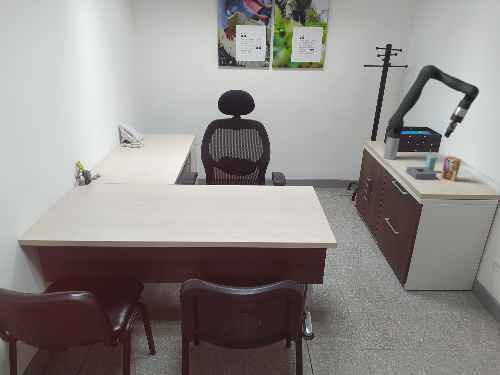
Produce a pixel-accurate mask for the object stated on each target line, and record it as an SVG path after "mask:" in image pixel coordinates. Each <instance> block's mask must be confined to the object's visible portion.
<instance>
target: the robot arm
mask: <svg viewBox="0 0 500 375" xmlns="http://www.w3.org/2000/svg"><path fill="white" fill-rule="evenodd" d="M430 79H432V80H436V81H439V82H440V83H442V84H443V85H445V86H446V87H448V88H450V89H452V90H454V91H457V92H459V93H462V94H464V96H463V98H462V99H461V100H460V101H459V103H458V104H457V106H456V107H455V109H454V111H453V112H452V114H451V116H450V118H449V120H450V122H449V124H448V127H446V130H445V133H444V134H443V136H444V137H445V138H447V139H449V138H450V137H451V135H452V133H454V131H455V130H456V127H457V126H458V124H462V122H463V121H464V118H465V117H466V115H467V113H468V110H470V108H471V106H472V104H473V103H474V102H475V100H476V98H477V97H478V95H479V93H480V89H479V88H478V87H477V86H476V85H475V84H474V85H473V84H471V83H469V82H466V81H464V80H462V79H459V78H457V77H455V76H453V75H450V74H448V73H446V72H444V71H442V70H441V69H439V68H438V67H437V66H435V65H433V64H428V65H425V66H423V67H422V68H421V69H420V71H419V73H418V75H417V77H416V79H415V81H414V82H413V84H412V85H411V86H410V88H409V90H408V91H407V93H406V95H405V96H404V97H403V100H402V101H401V102H400V104H399V106H398V107H397V109H396V111H395V112H394V113H393V114H392V115H391V117H390V118H389V120H388V125H387V126H388V128H389V129H390V130H389V131H388V133H387V137H386V143H385V148H384V153H383V158H384V159H385V160H392V161H393V160H396V159H397V154H398V149H399V145H400V140H401V139H400V138H401V135H402V133H403V130H404V129H403V128H404V125H405V124H404V123H405V121H404V118H405V116H406V115H407V114H408V113H409V112H410V111H411V110H412V109H413V108H414V106H415V105H416V104H417V103H418V101H419V99H420V98H421V96H422V92H423V89H424V88H425V86H426V84H427V83H428V81H429V80H430Z"/></svg>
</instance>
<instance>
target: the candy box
mask: <svg viewBox="0 0 500 375" xmlns="http://www.w3.org/2000/svg"><path fill="white" fill-rule="evenodd" d="M461 163H462V159H461V158H458V157H455V156H454V157H453V156H449V155H447V156H445V159H444V163H443V166H442V167H443V168H442V171H441V174H440V179H445V180H447V181H451V182H455V181H456V180H457V178H458V173H459V170H460V166H461Z"/></svg>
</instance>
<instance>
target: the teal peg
mask: <svg viewBox="0 0 500 375" xmlns="http://www.w3.org/2000/svg"><path fill="white" fill-rule="evenodd" d="M436 161H437V157H436V156H434V155H427V157H426V161H425V166H424V167H427V168H428V169H430V170H431V171H433V172H434V170H435V166H436Z"/></svg>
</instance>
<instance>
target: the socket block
mask: <svg viewBox="0 0 500 375" xmlns="http://www.w3.org/2000/svg"><path fill="white" fill-rule="evenodd" d="M405 173H406V174H408V175H409V176H410V177H411V178H413V179H414V180H436V177H437V173H436V172H434V171H431V170H430V169H428V168H427V167H425V166H407V167H406V170H405Z"/></svg>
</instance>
